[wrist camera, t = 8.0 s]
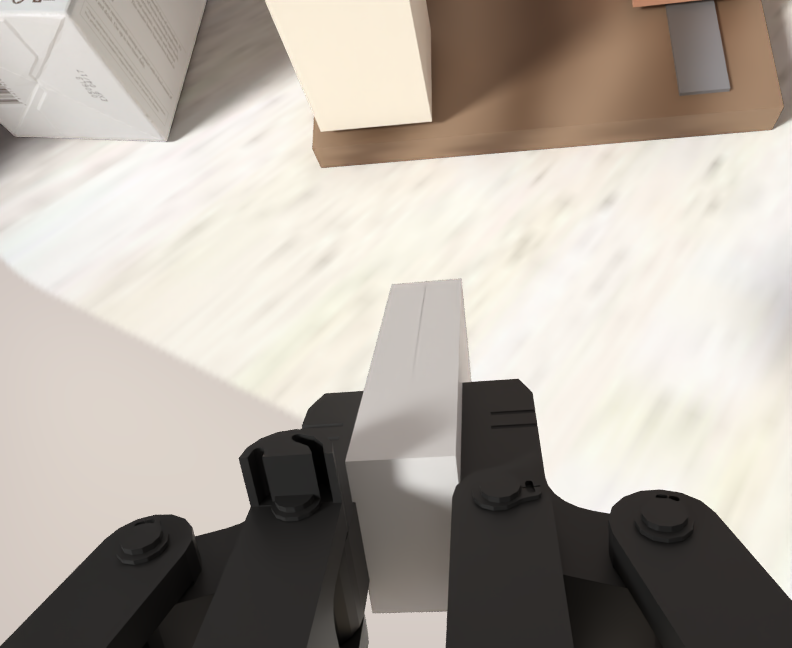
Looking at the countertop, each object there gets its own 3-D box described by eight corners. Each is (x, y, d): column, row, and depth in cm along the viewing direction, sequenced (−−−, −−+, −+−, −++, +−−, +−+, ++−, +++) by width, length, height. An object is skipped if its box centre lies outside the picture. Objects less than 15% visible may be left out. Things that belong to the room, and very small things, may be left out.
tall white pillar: (320, 131, 33) (250, -34, 25) (325, 42, 35) (261, -141, 27) (432, 121, 33) (399, -53, 24) (430, 30, 34) (399, -162, 26)
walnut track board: (321, 167, 35) (311, 146, 34) (331, -57, 40) (323, -85, 39) (772, 129, 32) (785, 103, 31) (723, -108, 37) (732, -141, 36)
